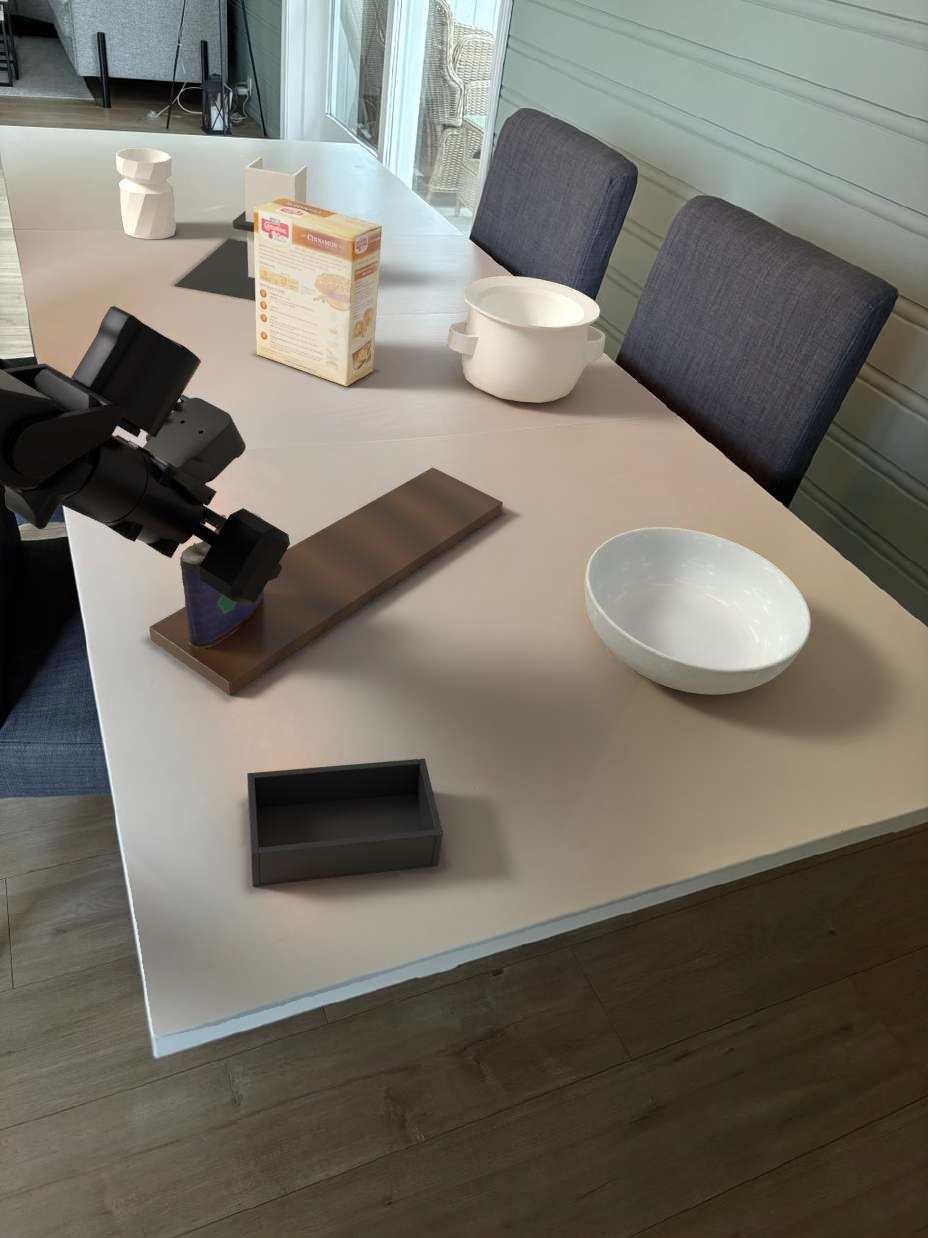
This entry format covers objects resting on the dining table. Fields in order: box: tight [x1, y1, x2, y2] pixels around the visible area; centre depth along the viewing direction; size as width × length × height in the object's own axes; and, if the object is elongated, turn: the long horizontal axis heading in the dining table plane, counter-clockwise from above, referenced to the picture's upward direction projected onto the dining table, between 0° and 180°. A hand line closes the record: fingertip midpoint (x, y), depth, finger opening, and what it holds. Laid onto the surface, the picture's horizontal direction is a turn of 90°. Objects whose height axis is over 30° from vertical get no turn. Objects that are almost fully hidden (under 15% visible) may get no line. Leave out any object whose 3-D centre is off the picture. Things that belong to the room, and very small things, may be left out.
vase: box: [115, 147, 177, 240], centre depth 153 cm, size 9×9×12 cm
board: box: [148, 466, 504, 696], centre depth 91 cm, size 40×10×2 cm, turn 143°
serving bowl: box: [584, 526, 812, 695], centre depth 86 cm, size 21×21×7 cm
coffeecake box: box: [254, 198, 383, 387], centre depth 120 cm, size 15×7×20 cm, turn 63°
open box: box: [246, 757, 444, 887], centre depth 65 cm, size 13×7×4 cm, turn 102°
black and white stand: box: [174, 156, 308, 301], centre depth 144 cm, size 25×24×16 cm
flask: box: [179, 511, 264, 649], centre depth 77 cm, size 9×3×11 cm, turn 153°
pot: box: [446, 275, 607, 404], centre depth 124 cm, size 22×17×12 cm
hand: (239, 548), depth 77 cm, fingers open, 9 cm apart
